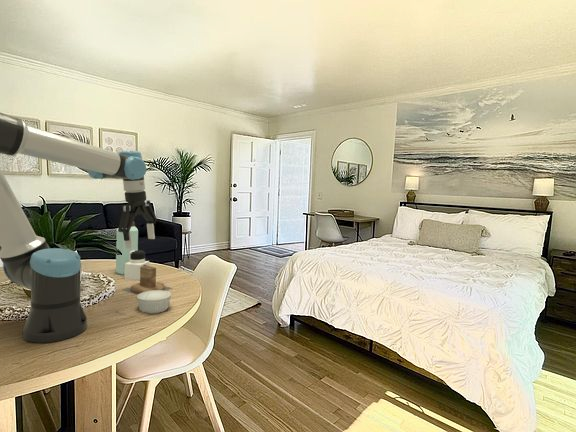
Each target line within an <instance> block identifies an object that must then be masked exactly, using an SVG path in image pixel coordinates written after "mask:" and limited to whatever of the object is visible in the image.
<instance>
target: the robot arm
mask: <svg viewBox="0 0 576 432" xmlns="http://www.w3.org/2000/svg"><path fill="white" fill-rule="evenodd" d="M0 154H1V155H7V156H11V157H13V156H15V155H18V154H20V155H24V156H27V157H28V156H29V157H32V158H36V159H41V160H45V161H49V162H55V163H58V164H61V165H67V166H71V167H74V168H80V169H84V170H86V171H87V174H88V175H89V177H90V178H91V179H94V180H99V179H100V180H102V179H115V180H119V179H121V180H122V182H123V183H122V184H123V191H125V192H124V200H125V202H127V205H122V206H121V215H120V219H119V225H118V227H117V228H118V232H123V236H124V241H125V246H126V248H127V249H133V242H132V234H131V232H129V231H130V229H131V226H132V224H133V222H135V218H137V216H139V215H141V216H142V218H144V220H145V221H146V222H147V223H146V230H147V231H146V232H147V238H148V240H155V239H156V235H155V225H154V224H157V220H158V217H157V216H156V214H155V211H154V209H153V208H152V204H151V201H150V200H147V194H146V193H147V192H146V190H145V189H146V185H145V175H146V173H147V165H146V163H145V161H144V160H143V157H142V153H141V151H139V150H121V151H119V153H118V152H114V151H111V150H108V149H106V148H102V147H98V146H96V145H91V144H88V143H85V142H83V141H82V142H81V141H79V140H75V139H72V138H69V137H66V136H62V135H60V134H56V133H52V132H49V131H47V130H46V131H45V130H43V129H40V128H36V127H33V126H30V125H27V124H26V123H25V121H24V120H23V119H20V118H18V117H14V116H12V115H8V114H5V113H2V112H0ZM12 189H13V188H11V185H10V184H9V182H8V180H7V178H6V176H5V175H4V173H3V170H2V169H1V168H0V247H1V248H0V260H1V262H2V270H3V273H4V275H5V276H6V278H7V279H8V280H10V281H11V282H12V283H13V284H16V285H19V286H21V287H24V288H27V289H29V290H30V310H29V314H28V315H27V318H26V321H25V324H24V326H23V329H22V338H23V340H25V341H26V342H29V343H38V344H39V343H41V344H42V343H54V342H58V341H59V342H60V341H63V340H64V341H65V340H67V339H71V338H72V337H75V336H79V335H80V334H81V333H83V332H85V330H87V327H88V318H87V316H86V313H85V310H84V308H83V306H82V303H81V277H82V273H81V271H82V270H81V269H82V263H81V256H80V254H79V253H78V252H76V251H75V250H73V249H69V248H65V249H63V248H62V247H61V248H55V247H53V248H51V247H50V246H49V244H48V243H47V240H46V238H45V237H42V236H40V235H39V236H38V235H37V234H36V232H35V231H34V228H33V227H32V224H31V223H30V221H29V219H28V217H27V215H26V213H25V212H24V210H23V208H22V206H21V203H19V200H18V199H17V197H16V195H15V194H14V191H13V190H12ZM126 228H127V229H126Z"/></svg>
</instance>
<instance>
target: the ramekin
mask: <svg viewBox="0 0 576 432" xmlns="http://www.w3.org/2000/svg"><path fill="white" fill-rule="evenodd" d="M171 297H172V293H171V292H170V291H169V290H166V291H163V290H153V291H147V292H143V293H140V294H139V295H137V296H136V299H137V305H138V310H139V311H140V312H143V313H147V314H150V315H151V314H159V313H162V312H165V311H166V310H167V309H168V308H169V305H170V302H171V301H170V300H171Z"/></svg>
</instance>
